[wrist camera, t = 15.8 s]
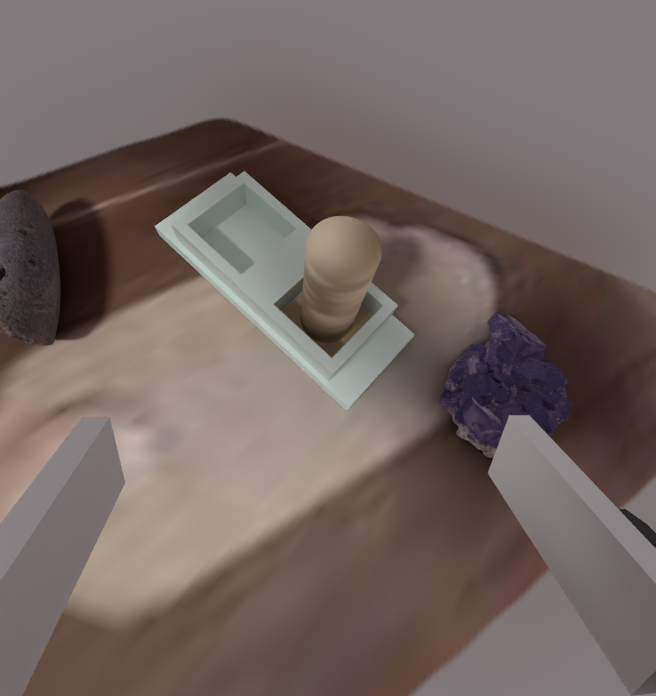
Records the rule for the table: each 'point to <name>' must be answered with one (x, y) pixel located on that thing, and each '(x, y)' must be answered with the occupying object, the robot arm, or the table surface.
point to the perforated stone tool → (28, 270)
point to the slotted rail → (280, 283)
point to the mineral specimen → (504, 385)
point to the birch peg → (337, 275)
